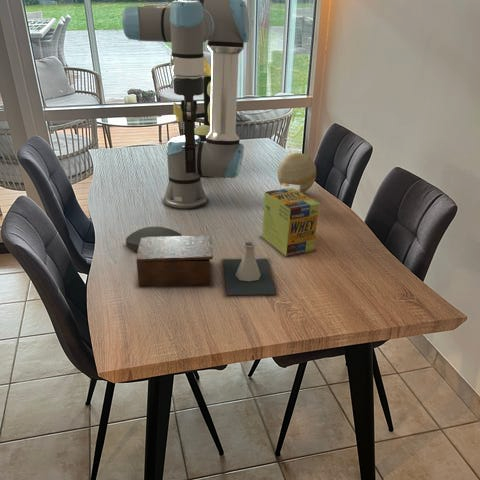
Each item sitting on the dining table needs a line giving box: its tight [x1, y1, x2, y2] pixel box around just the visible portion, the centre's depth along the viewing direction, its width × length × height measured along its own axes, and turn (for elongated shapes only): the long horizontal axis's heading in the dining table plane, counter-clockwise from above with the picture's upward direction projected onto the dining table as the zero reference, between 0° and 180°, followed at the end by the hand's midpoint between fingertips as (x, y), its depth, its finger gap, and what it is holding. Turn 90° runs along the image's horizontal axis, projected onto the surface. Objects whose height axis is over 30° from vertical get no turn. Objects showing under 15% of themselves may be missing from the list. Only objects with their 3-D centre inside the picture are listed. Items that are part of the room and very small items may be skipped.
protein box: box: [261, 188, 320, 257], centre depth 157 cm, size 10×15×16 cm
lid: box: [135, 234, 214, 263], centre depth 139 cm, size 20×13×1 cm, turn 94°
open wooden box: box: [136, 259, 211, 288], centre depth 141 cm, size 19×13×8 cm
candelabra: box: [173, 52, 212, 142], centre depth 207 cm, size 19×22×45 cm
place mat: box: [223, 258, 276, 297], centre depth 143 cm, size 20×13×1 cm, turn 4°
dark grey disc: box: [125, 226, 183, 253], centre depth 158 cm, size 15×15×3 cm
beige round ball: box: [277, 152, 317, 193], centre depth 196 cm, size 15×15×15 cm
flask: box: [236, 240, 261, 281], centre depth 140 cm, size 7×7×10 cm
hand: (190, 172), depth 136 cm, fingers closed
